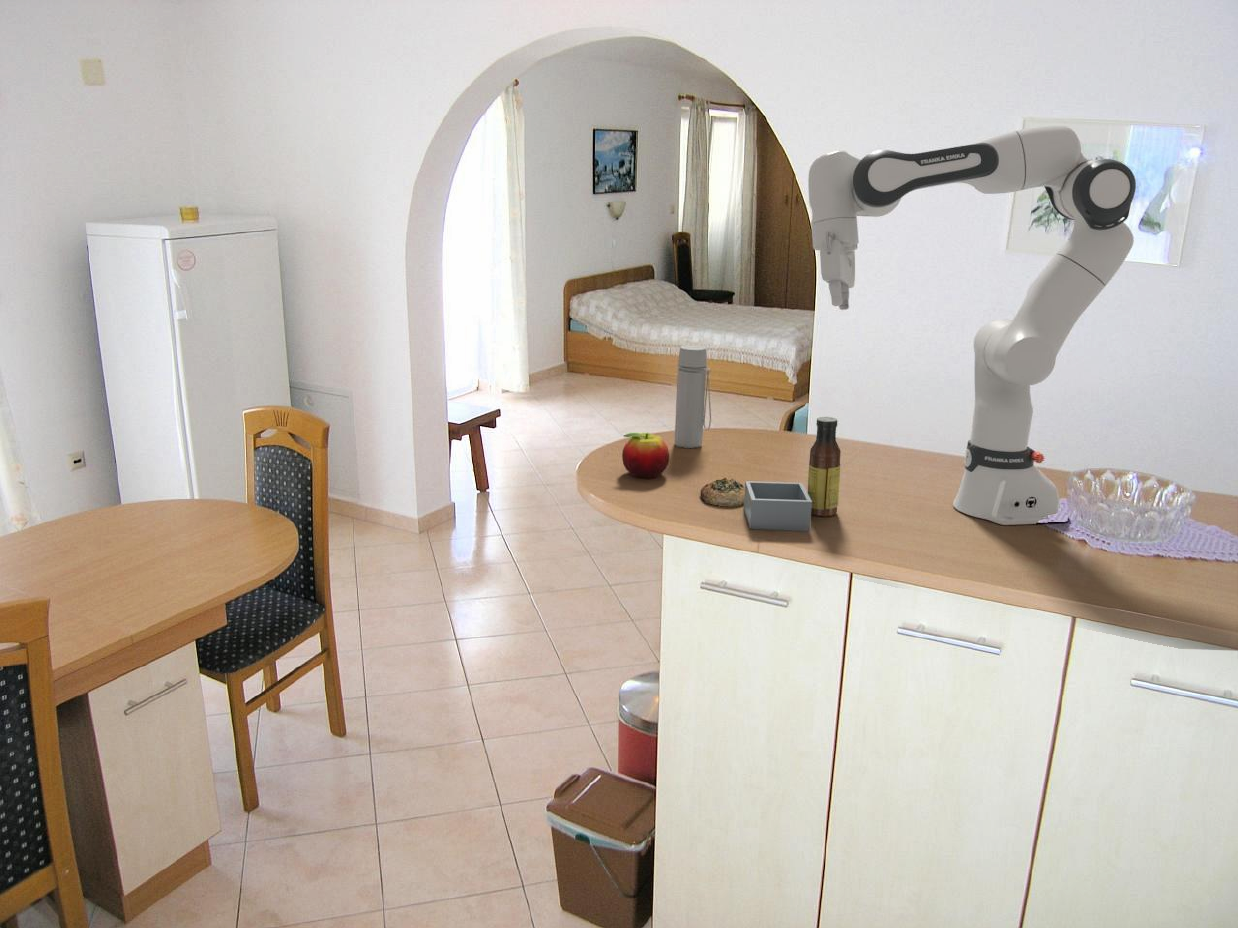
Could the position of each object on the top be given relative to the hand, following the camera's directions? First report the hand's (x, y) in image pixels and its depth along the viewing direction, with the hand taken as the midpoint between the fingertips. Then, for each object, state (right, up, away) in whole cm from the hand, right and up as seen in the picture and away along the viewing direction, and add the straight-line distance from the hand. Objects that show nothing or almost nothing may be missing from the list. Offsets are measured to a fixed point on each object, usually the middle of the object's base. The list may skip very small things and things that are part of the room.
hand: (840, 307), depth 188 cm
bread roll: (-21, -39, +14) cm, 46 cm away
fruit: (-38, -34, +28) cm, 58 cm away
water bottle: (-26, -27, +52) cm, 64 cm away
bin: (-13, -42, +2) cm, 44 cm away
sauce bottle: (-2, -41, +7) cm, 42 cm away
